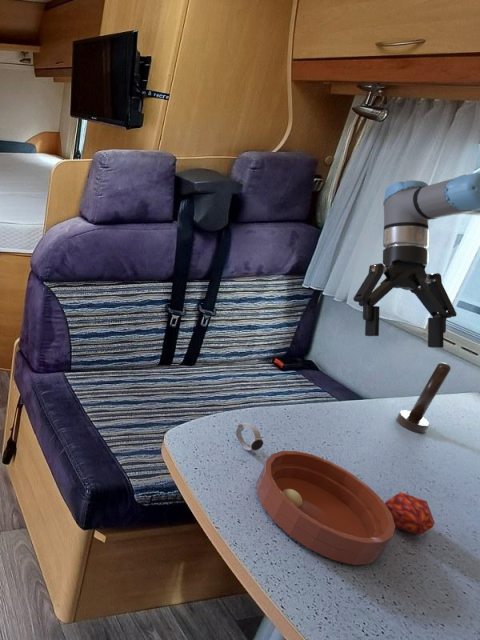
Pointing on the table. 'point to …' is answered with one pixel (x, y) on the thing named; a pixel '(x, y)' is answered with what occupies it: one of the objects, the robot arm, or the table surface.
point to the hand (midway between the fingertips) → (403, 341)
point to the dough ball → (293, 497)
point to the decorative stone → (410, 513)
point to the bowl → (325, 507)
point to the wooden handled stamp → (424, 401)
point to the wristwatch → (256, 441)
